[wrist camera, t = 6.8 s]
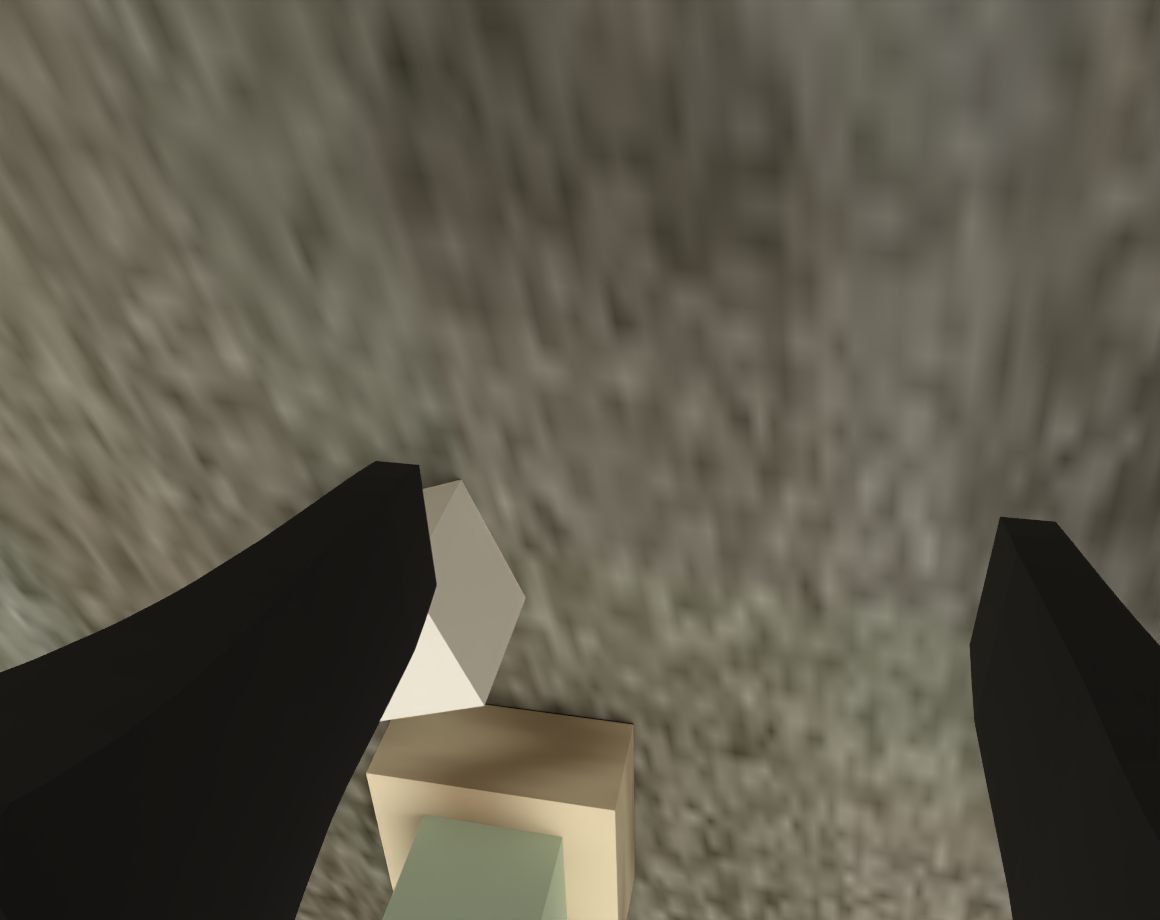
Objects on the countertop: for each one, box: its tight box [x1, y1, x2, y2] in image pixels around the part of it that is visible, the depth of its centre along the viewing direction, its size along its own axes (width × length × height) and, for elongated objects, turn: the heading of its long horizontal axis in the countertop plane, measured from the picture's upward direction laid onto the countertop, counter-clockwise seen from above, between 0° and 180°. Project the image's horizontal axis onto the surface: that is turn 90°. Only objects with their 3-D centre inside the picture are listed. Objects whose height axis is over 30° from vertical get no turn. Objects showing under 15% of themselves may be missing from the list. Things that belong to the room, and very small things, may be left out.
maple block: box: [366, 705, 635, 920], centre depth 31 cm, size 7×7×3 cm
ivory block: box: [380, 480, 526, 721], centre depth 26 cm, size 4×4×4 cm
